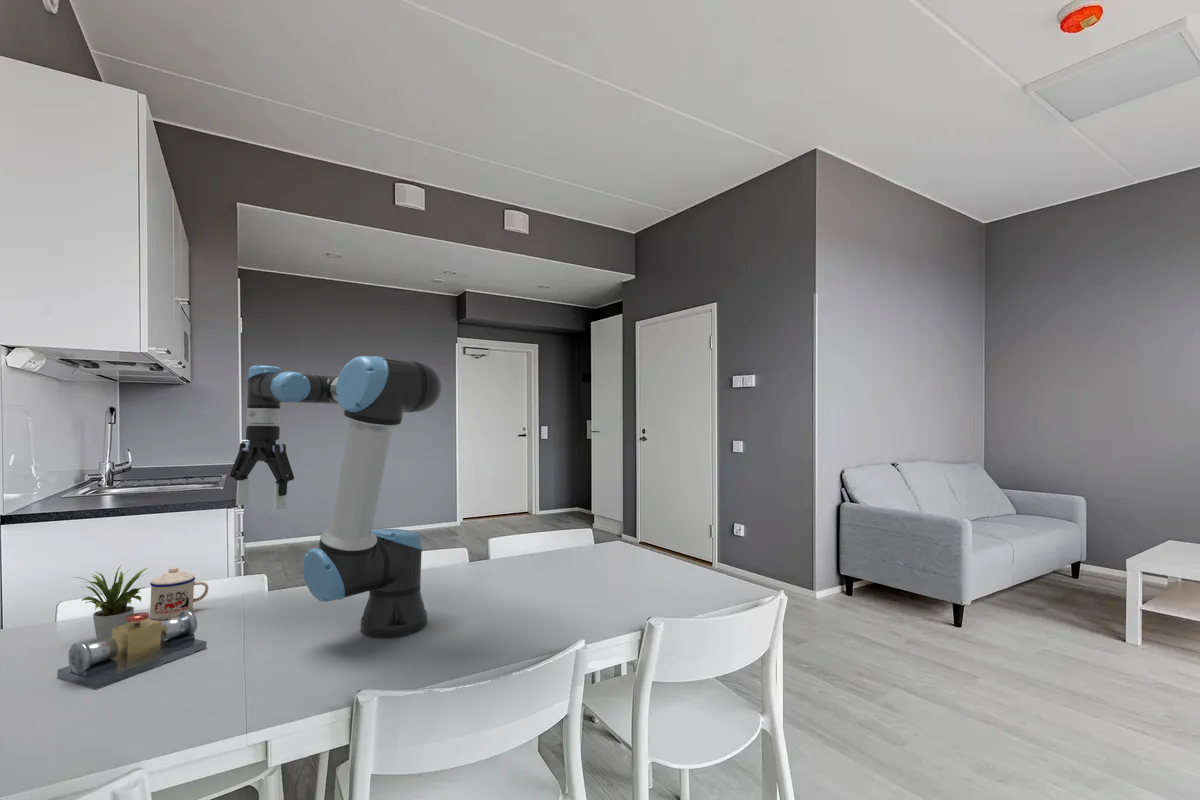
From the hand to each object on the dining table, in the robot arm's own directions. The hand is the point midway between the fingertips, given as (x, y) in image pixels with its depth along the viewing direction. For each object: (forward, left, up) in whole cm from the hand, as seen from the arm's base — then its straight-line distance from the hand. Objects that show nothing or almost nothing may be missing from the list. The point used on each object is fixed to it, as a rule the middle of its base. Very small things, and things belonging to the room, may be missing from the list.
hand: (260, 506), depth 147 cm
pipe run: (-6, +31, -27) cm, 41 cm away
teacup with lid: (+16, +9, -27) cm, 33 cm away
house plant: (+12, +27, -27) cm, 40 cm away
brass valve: (-6, +31, -25) cm, 40 cm away
